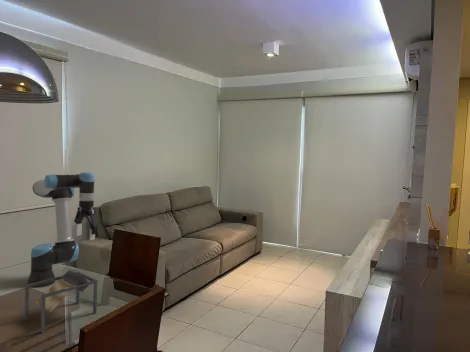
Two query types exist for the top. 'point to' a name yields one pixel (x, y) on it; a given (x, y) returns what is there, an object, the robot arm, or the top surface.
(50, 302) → the trapdoor
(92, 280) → the stand
